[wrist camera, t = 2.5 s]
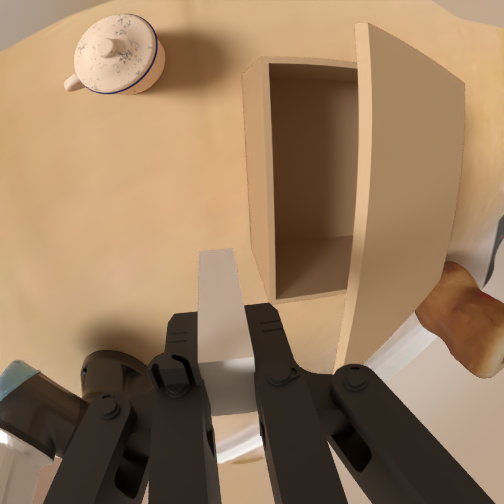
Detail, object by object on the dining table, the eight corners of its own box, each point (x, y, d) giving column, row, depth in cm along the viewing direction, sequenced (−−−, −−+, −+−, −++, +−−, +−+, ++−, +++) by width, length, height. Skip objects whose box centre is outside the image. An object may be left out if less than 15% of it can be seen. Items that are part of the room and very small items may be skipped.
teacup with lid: (155, 21, 28) (137, -10, 18) (177, 78, 32) (165, 65, 22) (73, 62, 28) (30, 51, 18) (93, 118, 33) (54, 125, 22)
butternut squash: (459, 261, 52) (538, 332, 30) (425, 313, 57) (491, 393, 35) (423, 239, 48) (519, 320, 26) (385, 299, 53) (459, 396, 31)
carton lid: (434, 278, 34) (439, 280, 34) (331, 380, 23) (338, 385, 22) (458, 82, 23) (464, 83, 23) (354, 23, 11) (367, 22, 11)
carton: (384, 233, 47) (435, 276, 34) (251, 247, 44) (270, 305, 32) (392, 84, 36) (458, 84, 23) (241, 75, 33) (260, 56, 21)
